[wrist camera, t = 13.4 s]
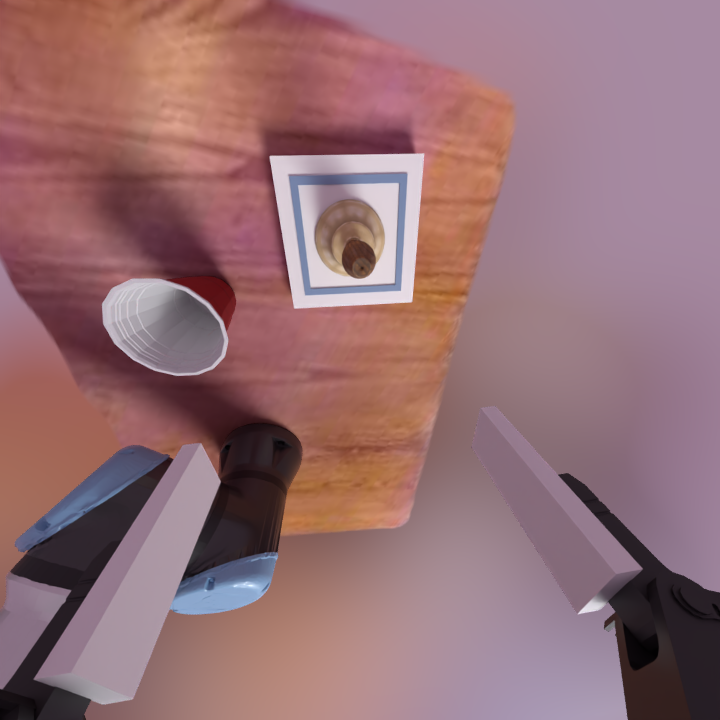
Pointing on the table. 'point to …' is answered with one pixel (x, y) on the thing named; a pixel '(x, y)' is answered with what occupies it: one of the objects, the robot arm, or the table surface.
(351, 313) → the table surface
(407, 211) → the display board
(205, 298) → the plastic cup
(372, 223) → the hand bell
